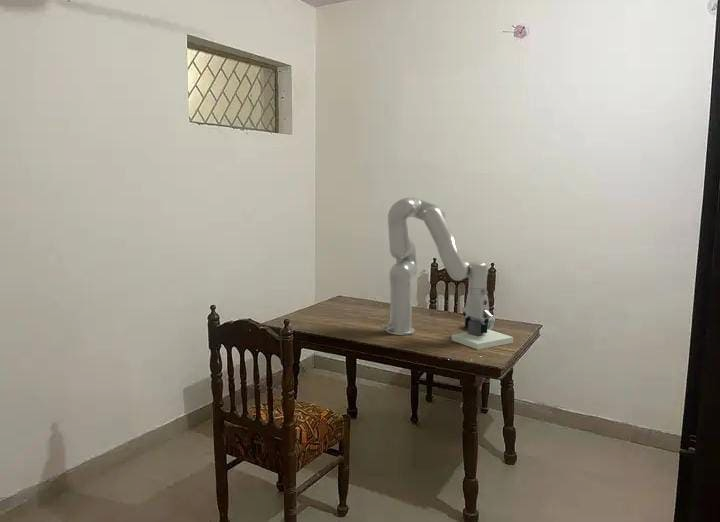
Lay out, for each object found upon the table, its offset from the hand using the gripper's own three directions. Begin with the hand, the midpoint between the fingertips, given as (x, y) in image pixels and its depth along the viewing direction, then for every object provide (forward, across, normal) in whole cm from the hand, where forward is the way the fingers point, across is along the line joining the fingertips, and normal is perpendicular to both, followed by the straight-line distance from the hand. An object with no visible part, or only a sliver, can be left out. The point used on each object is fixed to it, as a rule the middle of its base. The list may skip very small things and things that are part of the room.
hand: (475, 330), depth 238 cm
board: (+4, -4, 0) cm, 6 cm away
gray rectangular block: (+4, 0, 0) cm, 4 cm away
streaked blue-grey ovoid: (+4, +12, -14) cm, 19 cm away
